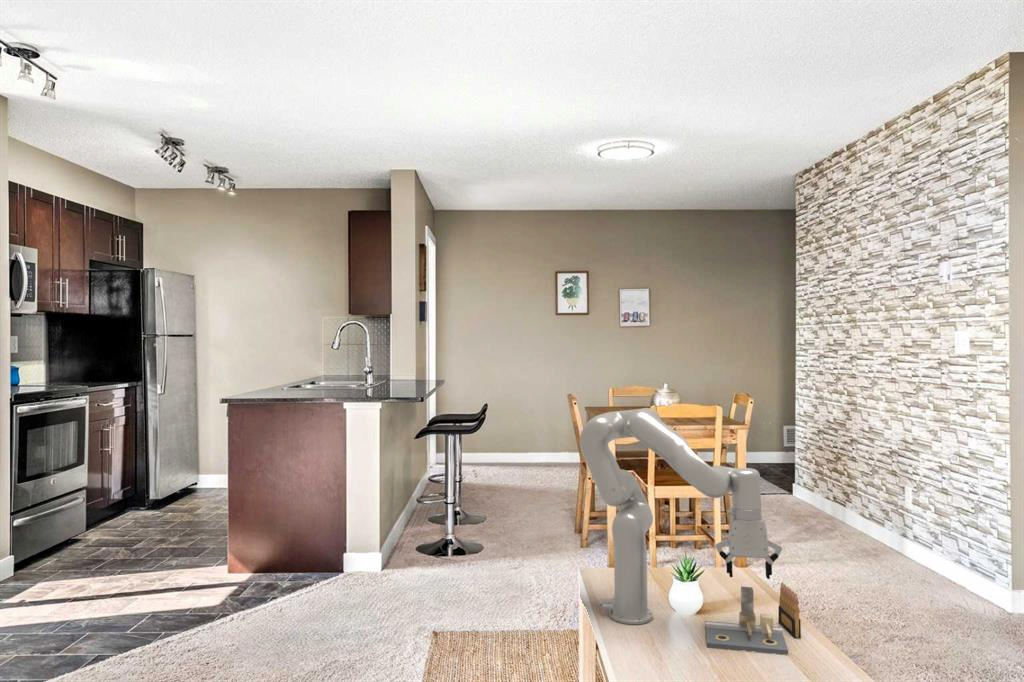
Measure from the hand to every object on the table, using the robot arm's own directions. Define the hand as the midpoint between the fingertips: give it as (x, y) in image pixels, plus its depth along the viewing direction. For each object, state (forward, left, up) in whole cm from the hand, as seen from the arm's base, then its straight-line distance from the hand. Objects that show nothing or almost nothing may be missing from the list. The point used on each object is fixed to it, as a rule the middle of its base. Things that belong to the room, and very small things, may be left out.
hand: (749, 576), depth 189 cm
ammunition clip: (+11, +6, -16) cm, 20 cm away
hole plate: (-2, -3, -16) cm, 16 cm away
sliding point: (-1, -3, -14) cm, 14 cm away
